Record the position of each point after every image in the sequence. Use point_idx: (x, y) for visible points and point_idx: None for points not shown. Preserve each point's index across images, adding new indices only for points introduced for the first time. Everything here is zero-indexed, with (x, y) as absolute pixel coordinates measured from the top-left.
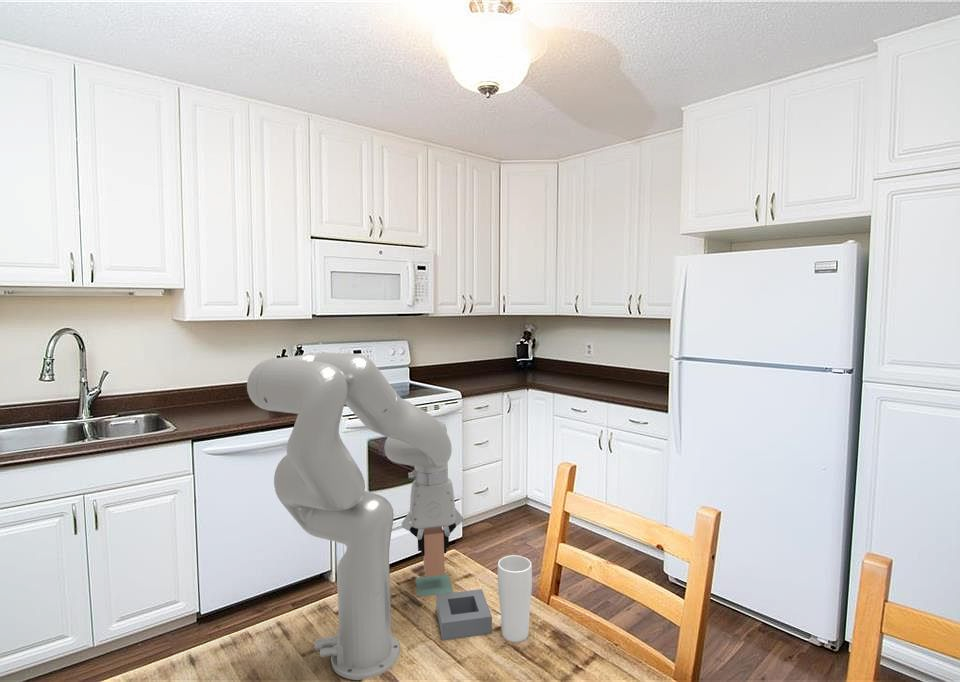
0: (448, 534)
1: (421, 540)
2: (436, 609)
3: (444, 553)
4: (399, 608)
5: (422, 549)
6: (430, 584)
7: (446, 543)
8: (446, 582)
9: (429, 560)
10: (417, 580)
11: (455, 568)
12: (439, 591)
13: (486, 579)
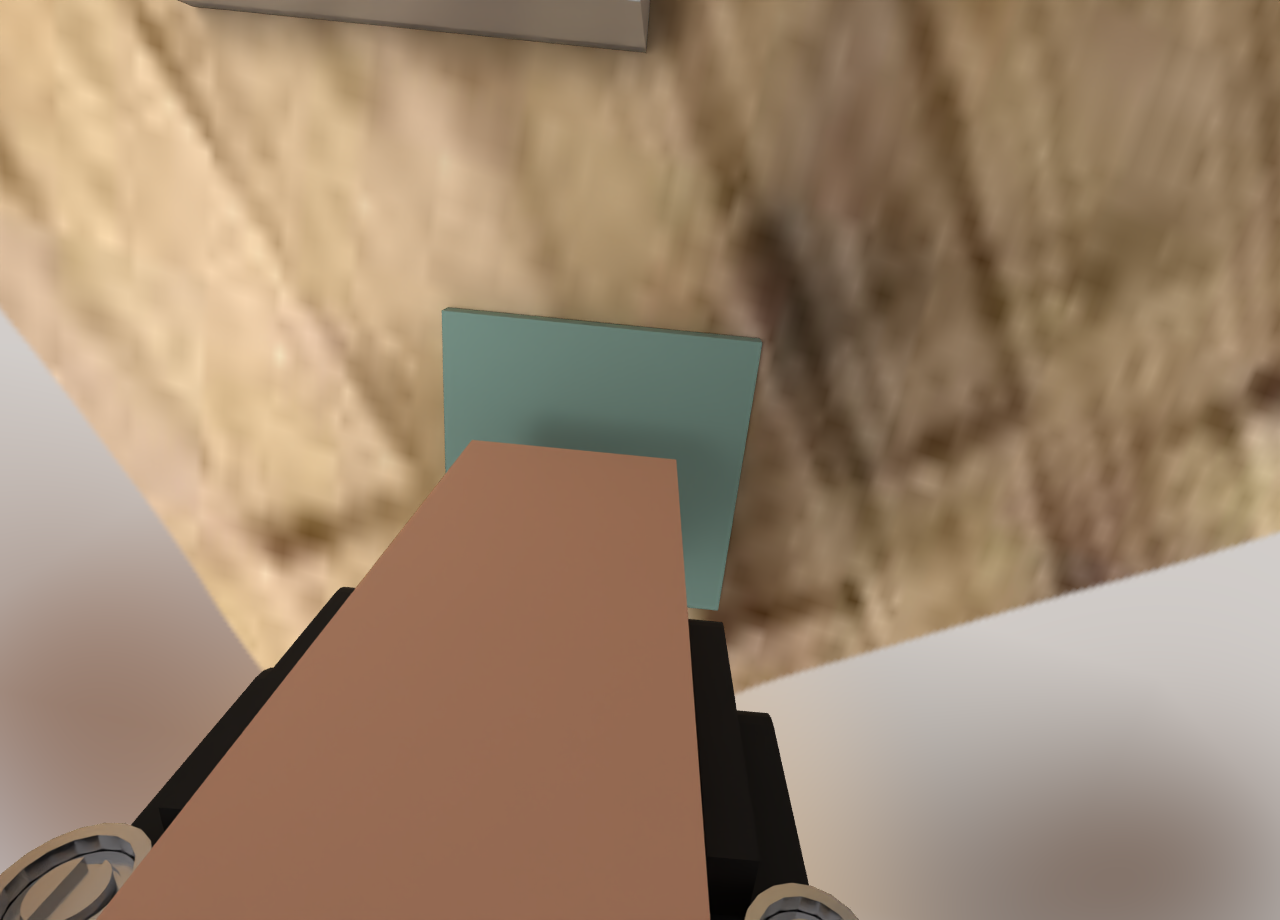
0: (56, 872)
1: (757, 850)
2: (646, 29)
3: None
4: (950, 242)
5: (720, 690)
6: None
7: None
8: None
9: (619, 541)
10: (707, 573)
11: None
12: (560, 361)
13: (144, 441)
